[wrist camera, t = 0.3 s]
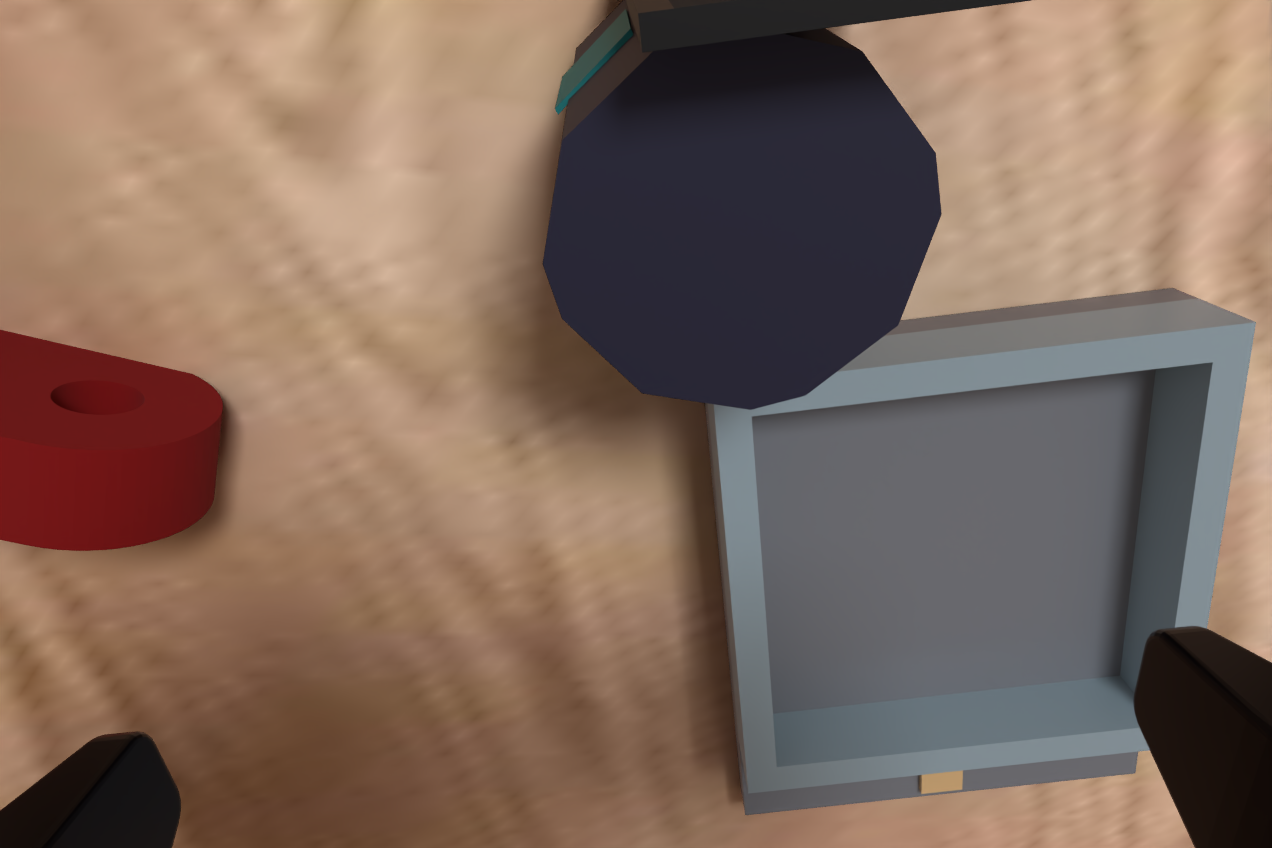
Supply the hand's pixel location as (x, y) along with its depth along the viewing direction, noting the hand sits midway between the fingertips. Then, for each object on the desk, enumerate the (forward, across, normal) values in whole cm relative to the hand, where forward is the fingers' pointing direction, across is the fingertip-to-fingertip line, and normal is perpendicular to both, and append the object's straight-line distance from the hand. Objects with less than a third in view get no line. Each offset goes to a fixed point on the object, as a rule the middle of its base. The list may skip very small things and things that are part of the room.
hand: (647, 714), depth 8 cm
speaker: (+15, -3, -3) cm, 15 cm away
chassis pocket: (+14, -8, +10) cm, 18 cm away
